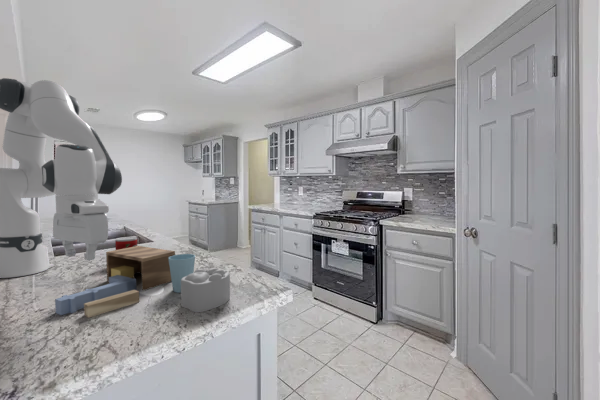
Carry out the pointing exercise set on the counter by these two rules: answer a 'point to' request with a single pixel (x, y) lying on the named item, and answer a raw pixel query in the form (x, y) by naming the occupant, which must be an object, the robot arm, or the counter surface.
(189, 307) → the lumpy-topped squat cylinder
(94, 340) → the counter surface
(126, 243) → the canned food
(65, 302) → the crook
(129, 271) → the ochre block
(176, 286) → the cup
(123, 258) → the box
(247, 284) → the counter surface
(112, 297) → the beech stick
